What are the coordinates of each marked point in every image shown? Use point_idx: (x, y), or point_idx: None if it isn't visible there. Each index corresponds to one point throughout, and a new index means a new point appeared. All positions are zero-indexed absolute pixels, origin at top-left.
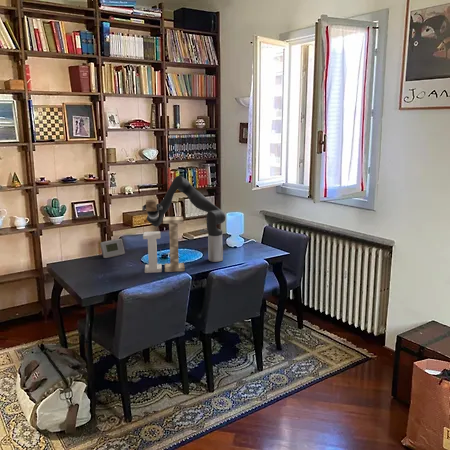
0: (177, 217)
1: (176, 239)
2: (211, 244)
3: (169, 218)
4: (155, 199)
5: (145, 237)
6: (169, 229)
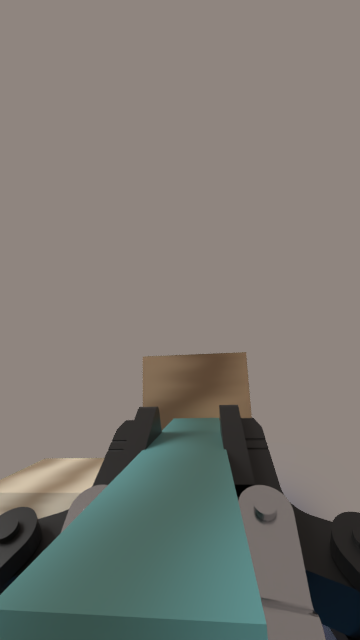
0: (31, 481)
1: None
2: None
3: (93, 472)
4: (149, 356)
5: None
6: None
